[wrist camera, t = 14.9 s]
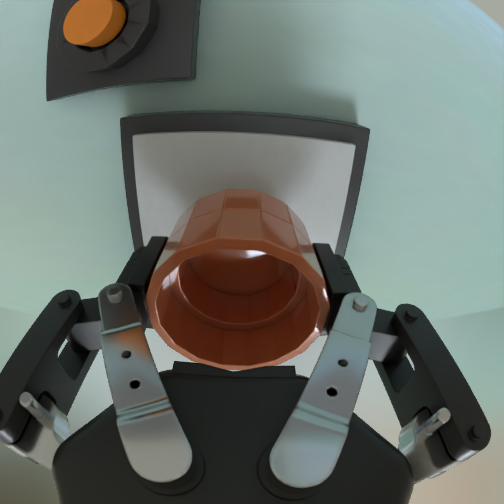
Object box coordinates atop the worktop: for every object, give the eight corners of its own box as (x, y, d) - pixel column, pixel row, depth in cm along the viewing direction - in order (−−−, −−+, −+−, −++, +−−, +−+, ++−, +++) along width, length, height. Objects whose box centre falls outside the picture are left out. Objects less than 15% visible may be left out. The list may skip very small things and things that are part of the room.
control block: (57, 99, 13) (31, 104, 11) (64, 0, 9) (40, -6, 7) (195, 79, 14) (184, 76, 11) (204, -32, 10) (196, -51, 7)
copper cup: (179, 296, 15) (162, 364, 11) (168, 183, 12) (131, 234, 8) (296, 301, 15) (309, 370, 11) (316, 189, 12) (349, 243, 8)
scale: (149, 273, 21) (139, 294, 19) (132, 114, 15) (115, 119, 13) (327, 280, 22) (335, 302, 20) (358, 124, 15) (375, 130, 13)
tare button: (77, 52, 10) (60, 50, 9) (82, 8, 8) (66, 2, 7) (124, 40, 10) (109, 36, 9) (128, -5, 9) (115, -14, 7)
